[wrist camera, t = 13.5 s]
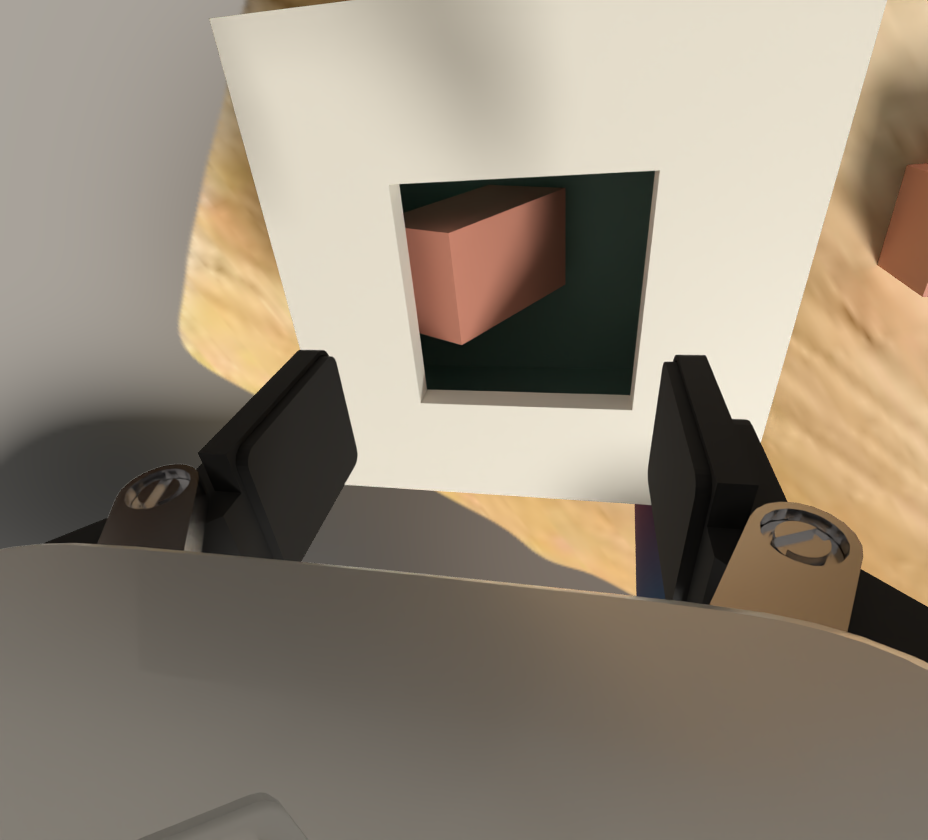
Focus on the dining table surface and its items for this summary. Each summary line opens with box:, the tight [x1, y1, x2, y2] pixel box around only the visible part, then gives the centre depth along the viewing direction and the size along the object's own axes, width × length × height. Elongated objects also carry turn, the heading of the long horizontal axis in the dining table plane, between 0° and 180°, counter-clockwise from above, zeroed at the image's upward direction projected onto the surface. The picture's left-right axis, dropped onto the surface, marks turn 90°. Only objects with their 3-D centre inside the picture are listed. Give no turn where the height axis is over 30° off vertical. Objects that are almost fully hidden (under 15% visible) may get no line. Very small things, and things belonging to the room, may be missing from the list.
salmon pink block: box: [403, 185, 565, 345], centre depth 22 cm, size 4×4×7 cm
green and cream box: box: [210, 0, 887, 505], centre depth 21 cm, size 16×16×10 cm
